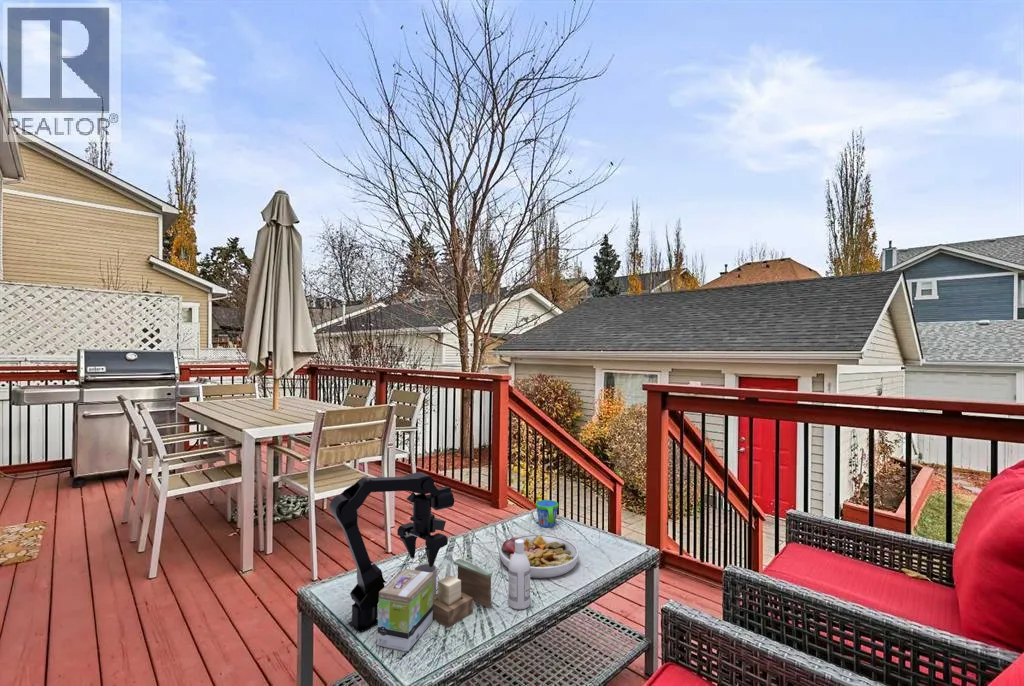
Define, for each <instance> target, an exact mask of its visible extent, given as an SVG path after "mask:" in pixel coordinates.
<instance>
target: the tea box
mask: <svg viewBox="0 0 1024 686" xmlns="http://www.w3.org/2000/svg"><path fill="white" fill-rule="evenodd" d="M433 584H434V573H430V572H424V571H417V570H414V569H411V568H410V569H409V568H404V569H403V570H402V571H401V572H400V573H399V574H397V575H396V576H395V577H394V578H393V579H392V580H391V581H389V583H387V584H386V585H384V586H385V587H384V588H383V589H382V590H381V591H379V602H378V617H377V620H378V624H377V633H376V634H377V639H376V640H377V641H376V645H377V646H380V647H384V648H388V649H393V650H398V651H402V652H409V651H410V649H412V647H413V646H414V644H416V642H417V641H418V640H419V639H420V637H422V635H423V634H424V633H425V632H426V630H427V629H428V627H430V626H431V624H432V623H433V620H434V619H433Z"/></svg>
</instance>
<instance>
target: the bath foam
mask: <svg viewBox="0 0 1024 686" xmlns="http://www.w3.org/2000/svg"><path fill="white" fill-rule="evenodd" d="M507 596H508V599H507V600H508V606H509V607H510V608H512V609H514V610H525V609H527V608H528V607H530V604H531V577H530V563H529V560H528V558H527V556H526V554H525V553H524V540H521V539H518V540H515V553H514V554H513V556H512V557H511V559H510V562H509V569H508V595H507Z"/></svg>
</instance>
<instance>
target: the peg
mask: <svg viewBox="0 0 1024 686" xmlns="http://www.w3.org/2000/svg"><path fill="white" fill-rule="evenodd" d="M437 594H438V601H439V602H441V603H443V604H445V605H447V606H451V605H453V604H454V603H456V602H458V601H460V600H461V580H459V579H458V577H455V576H452V575H447V576H445V577H443V578H442V579H440V580H439V579H438V581H437Z"/></svg>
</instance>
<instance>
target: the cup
mask: <svg viewBox="0 0 1024 686" xmlns="http://www.w3.org/2000/svg"><path fill="white" fill-rule="evenodd" d="M413 570H417V571H424V572H430V573H434V584H433V596H434V595H436V594H437V570H438V569H437V566H436V565H434V564H433V566H432V567H429V564H428V563H423V564H419V565H416V567H415V568H414V569H413Z"/></svg>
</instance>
